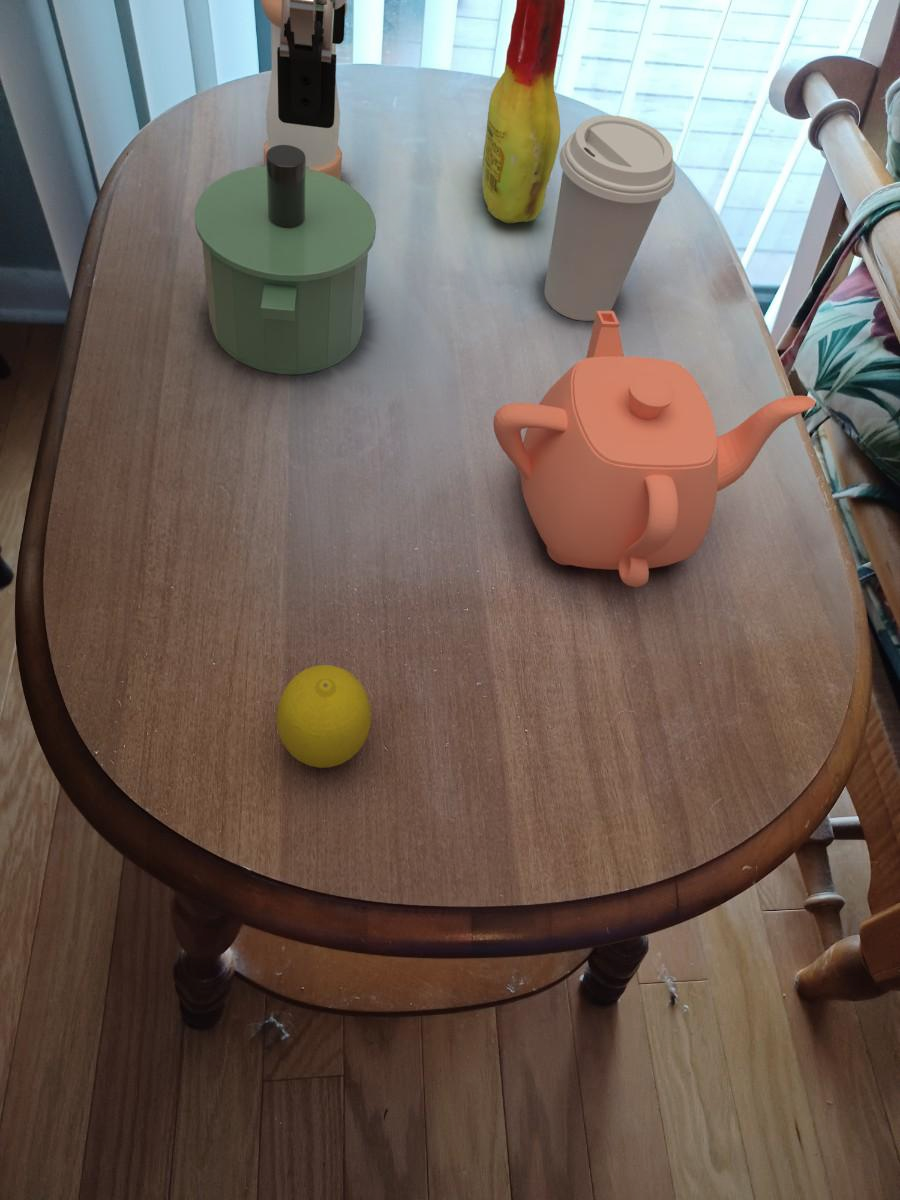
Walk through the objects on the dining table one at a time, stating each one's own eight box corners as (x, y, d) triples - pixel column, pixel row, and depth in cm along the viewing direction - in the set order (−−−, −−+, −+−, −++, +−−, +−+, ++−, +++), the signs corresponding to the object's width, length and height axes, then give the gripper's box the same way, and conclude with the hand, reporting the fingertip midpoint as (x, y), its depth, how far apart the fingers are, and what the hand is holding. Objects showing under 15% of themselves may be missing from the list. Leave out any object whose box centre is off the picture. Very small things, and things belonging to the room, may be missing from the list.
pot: (198, 391, 75) (186, 292, 67) (223, 248, 85) (216, 148, 77) (358, 404, 76) (365, 309, 68) (365, 262, 86) (371, 165, 79)
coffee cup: (517, 264, 89) (552, 107, 77) (613, 264, 91) (662, 111, 79) (541, 333, 84) (582, 177, 72) (641, 331, 86) (699, 179, 74)
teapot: (568, 407, 79) (613, 272, 68) (746, 514, 75) (824, 389, 64) (457, 520, 71) (487, 387, 60) (649, 647, 67) (720, 530, 56)
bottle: (468, 163, 97) (502, -56, 81) (528, 167, 98) (574, -48, 82) (481, 235, 91) (522, 14, 74) (546, 239, 92) (600, 21, 75)
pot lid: (184, 279, 69) (175, 201, 64) (207, 170, 76) (200, 93, 71) (372, 296, 70) (378, 223, 65) (376, 188, 78) (382, 114, 73)
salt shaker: (253, 168, 92) (243, -53, 76) (322, 157, 95) (327, -60, 79) (282, 212, 89) (279, -9, 73) (353, 199, 91) (364, -18, 76)
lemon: (264, 725, 60) (260, 661, 53) (345, 694, 62) (351, 629, 55) (298, 801, 57) (298, 744, 51) (381, 767, 59) (392, 707, 53)
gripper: (256, -354, 49) (265, 3, 63) (210, -241, 39) (233, 151, 53) (402, -328, 50) (379, 19, 64) (392, -211, 40) (367, 167, 54)
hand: (312, 79), depth 58 cm, fingers open, 9 cm apart
